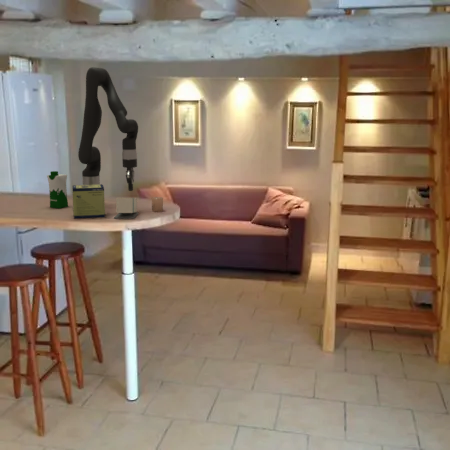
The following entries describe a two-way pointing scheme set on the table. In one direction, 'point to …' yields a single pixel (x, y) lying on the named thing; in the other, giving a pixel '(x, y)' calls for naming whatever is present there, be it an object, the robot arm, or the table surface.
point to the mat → (126, 215)
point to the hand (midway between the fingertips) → (130, 190)
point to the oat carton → (126, 205)
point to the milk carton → (57, 190)
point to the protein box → (88, 201)
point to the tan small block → (157, 204)
